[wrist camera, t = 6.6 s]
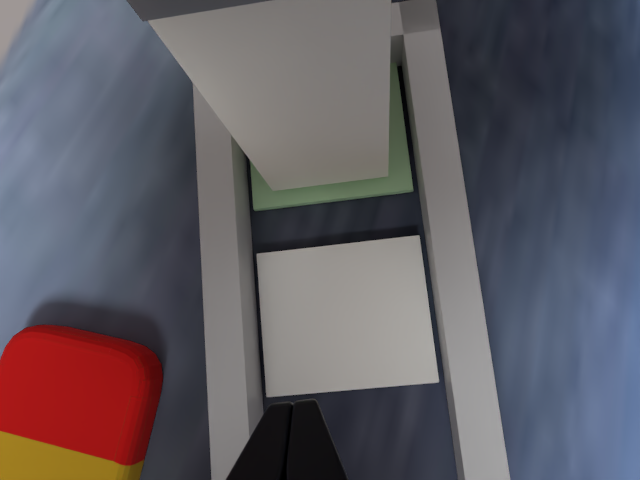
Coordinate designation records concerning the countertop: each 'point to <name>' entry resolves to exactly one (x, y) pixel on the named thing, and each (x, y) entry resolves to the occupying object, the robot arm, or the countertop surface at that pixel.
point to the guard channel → (350, 276)
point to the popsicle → (75, 405)
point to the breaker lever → (289, 80)
